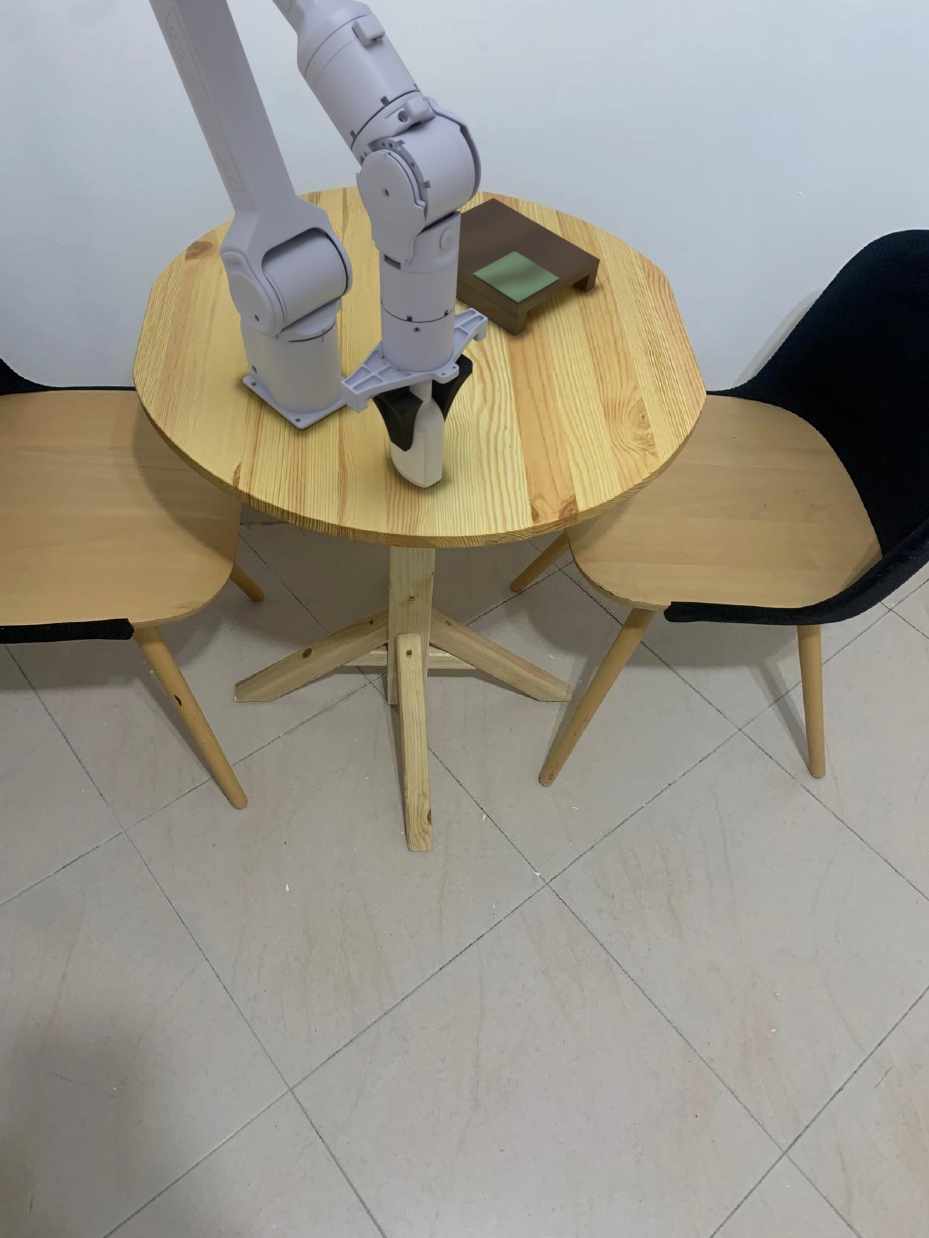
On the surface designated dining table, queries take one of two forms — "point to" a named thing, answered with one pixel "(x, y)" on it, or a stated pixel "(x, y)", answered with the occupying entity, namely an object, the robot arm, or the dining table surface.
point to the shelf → (515, 264)
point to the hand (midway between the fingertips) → (416, 434)
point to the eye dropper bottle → (423, 442)
